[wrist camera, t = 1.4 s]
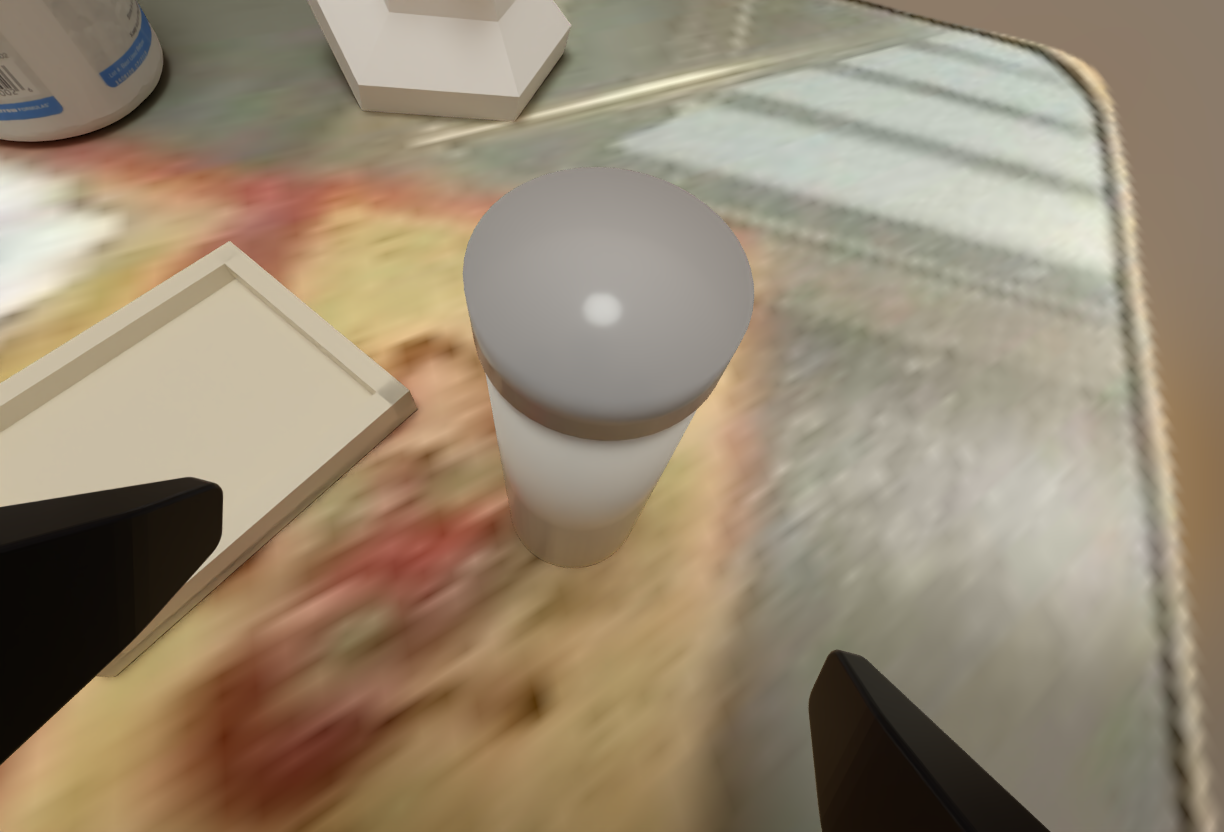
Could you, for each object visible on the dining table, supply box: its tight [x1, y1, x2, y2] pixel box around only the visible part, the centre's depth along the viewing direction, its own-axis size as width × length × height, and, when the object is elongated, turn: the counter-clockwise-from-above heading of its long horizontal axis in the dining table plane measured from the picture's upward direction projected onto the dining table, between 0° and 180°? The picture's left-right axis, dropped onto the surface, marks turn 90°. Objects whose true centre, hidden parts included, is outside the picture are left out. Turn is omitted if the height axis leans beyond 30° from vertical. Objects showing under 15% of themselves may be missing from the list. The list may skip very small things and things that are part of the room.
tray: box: [0, 241, 417, 677], centre depth 20 cm, size 12×10×2 cm
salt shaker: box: [463, 167, 754, 568], centre depth 15 cm, size 5×5×13 cm
